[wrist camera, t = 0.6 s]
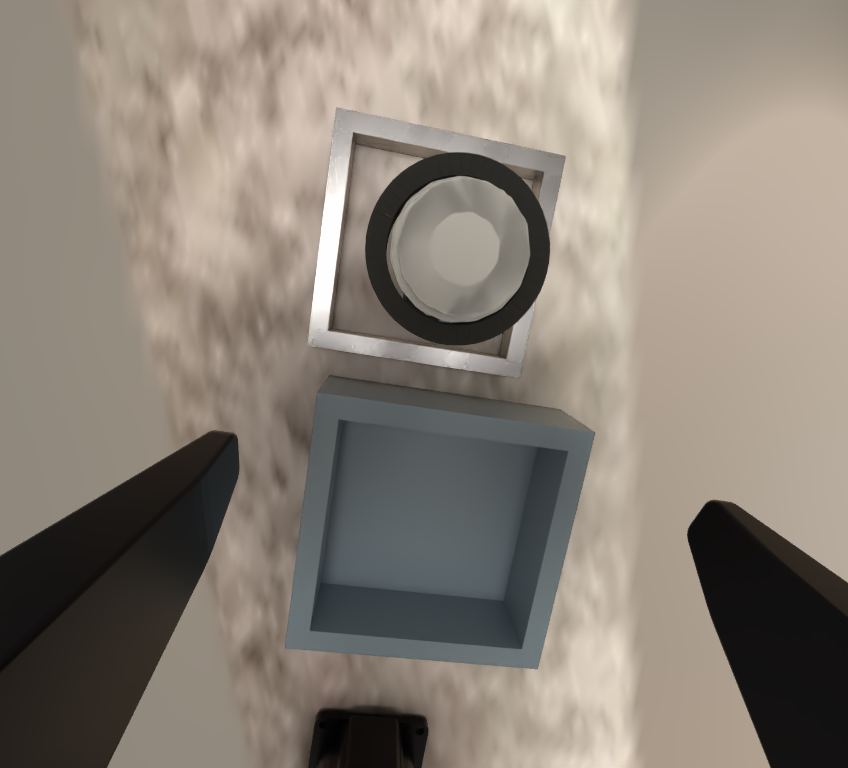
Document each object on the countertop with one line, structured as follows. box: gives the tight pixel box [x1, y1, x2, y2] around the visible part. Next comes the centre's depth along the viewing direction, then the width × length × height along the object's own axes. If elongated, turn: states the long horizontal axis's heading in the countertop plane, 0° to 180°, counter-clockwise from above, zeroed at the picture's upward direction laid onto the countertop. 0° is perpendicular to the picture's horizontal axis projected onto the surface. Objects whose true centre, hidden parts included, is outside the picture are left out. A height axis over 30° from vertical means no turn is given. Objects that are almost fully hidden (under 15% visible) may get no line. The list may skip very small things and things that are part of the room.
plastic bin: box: [285, 376, 595, 669], centre depth 22 cm, size 12×12×4 cm
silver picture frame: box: [307, 107, 566, 378], centre depth 21 cm, size 10×10×2 cm
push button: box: [365, 152, 550, 345], centre depth 17 cm, size 7×5×10 cm
